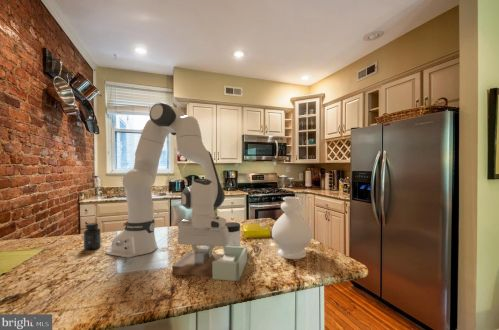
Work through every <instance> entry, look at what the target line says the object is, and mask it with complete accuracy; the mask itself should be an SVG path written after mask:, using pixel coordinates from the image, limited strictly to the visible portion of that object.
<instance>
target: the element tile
mask: <svg viewBox="0 0 499 330" xmlns="http://www.w3.org/2000/svg"><path fill="white" fill-rule="evenodd" d="M242 231H243V232H242V233H243V238H246V239H251V238H252V239H254V238H270V237H272V232H271V228H270V226H269V224H268V223H266V222H261V223H243V224H242Z"/></svg>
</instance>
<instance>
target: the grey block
mask: <svg viewBox="0 0 499 330" xmlns="http://www.w3.org/2000/svg"><path fill="white" fill-rule="evenodd" d="M197 249H198V250H197V251H196V252H193V253H194V256H195V265H203V266H204V264H205V263H206V262H207V261H208V260H209V258H210V257H207V252H208V251H210V250H211V249H210V248H209V246H203V245H200V247H199V248H197Z"/></svg>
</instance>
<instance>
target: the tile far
mask: <svg viewBox="0 0 499 330" xmlns="http://www.w3.org/2000/svg"><path fill="white" fill-rule="evenodd" d="M222 259H224V260H225V261H226V262H236V256H233V255H224V256H223V257H222Z"/></svg>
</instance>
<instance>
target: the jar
mask: <svg viewBox="0 0 499 330" xmlns="http://www.w3.org/2000/svg"><path fill="white" fill-rule="evenodd" d="M225 225H226V226H227V228H228V232H229V243H228V245H227V246H236V247H241V224H240V223H239V222H234V221H233V222H231V221H229V222H226V224H225ZM222 249H223V250H222V251H223V252H224V247H222Z"/></svg>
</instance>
